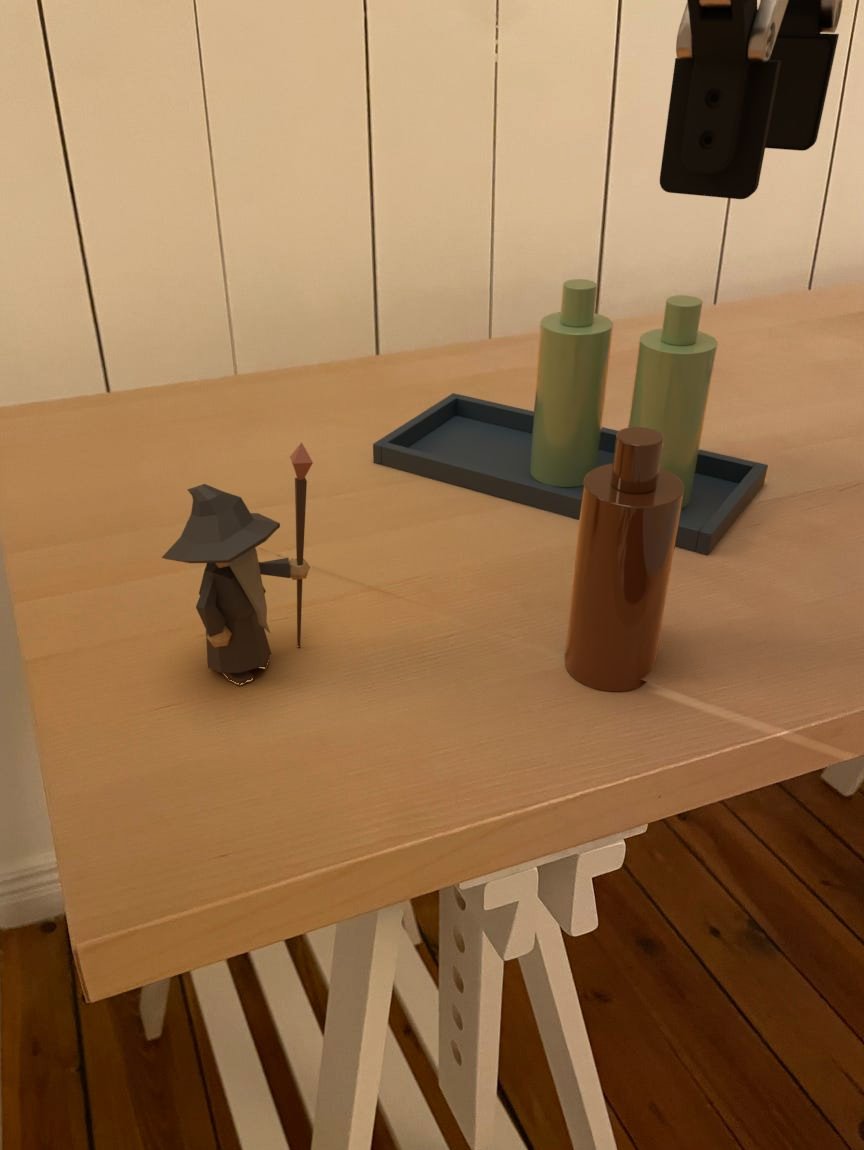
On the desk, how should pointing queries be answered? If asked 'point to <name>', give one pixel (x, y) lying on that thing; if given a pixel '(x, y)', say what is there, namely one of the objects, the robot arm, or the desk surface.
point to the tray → (502, 469)
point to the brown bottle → (623, 564)
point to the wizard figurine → (239, 572)
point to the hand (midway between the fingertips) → (742, 168)
